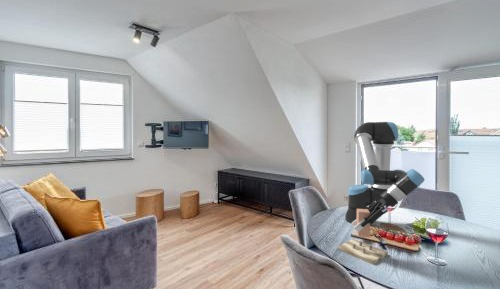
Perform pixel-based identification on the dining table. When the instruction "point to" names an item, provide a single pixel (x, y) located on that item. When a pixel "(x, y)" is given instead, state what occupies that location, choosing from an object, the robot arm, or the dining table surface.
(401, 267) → the dining table surface
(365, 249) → the base plate
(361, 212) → the block
